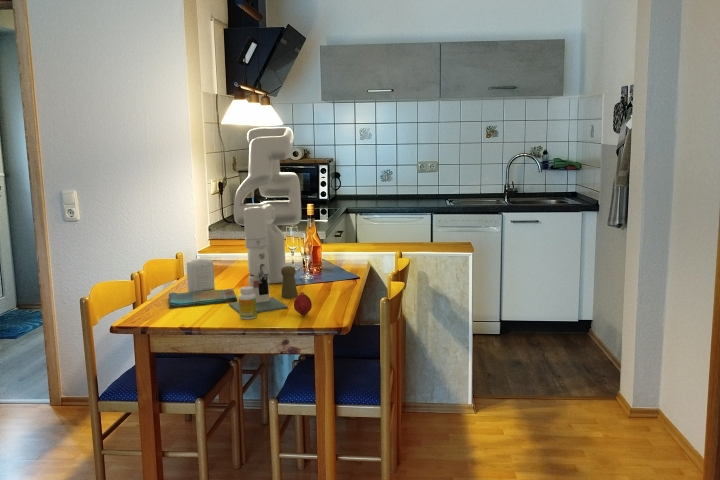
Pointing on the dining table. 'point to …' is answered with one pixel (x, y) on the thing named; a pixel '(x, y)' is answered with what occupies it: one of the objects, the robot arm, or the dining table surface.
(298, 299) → the onion
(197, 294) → the dish towel
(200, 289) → the photo printer
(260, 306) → the mat
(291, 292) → the pepper shaker
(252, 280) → the card box
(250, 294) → the supplement bottle
